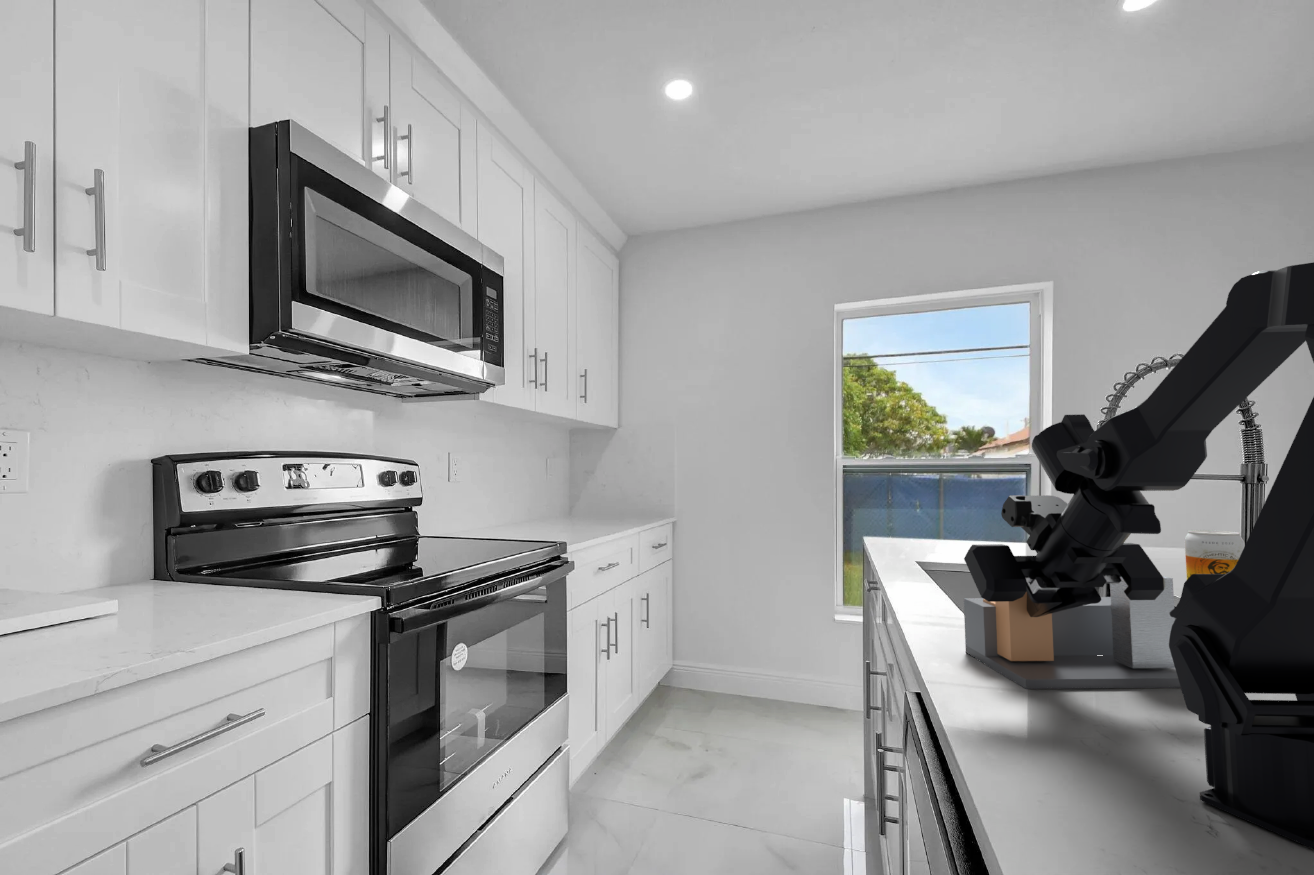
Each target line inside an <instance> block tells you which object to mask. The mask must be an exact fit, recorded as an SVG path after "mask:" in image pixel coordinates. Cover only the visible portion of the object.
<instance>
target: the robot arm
mask: <svg viewBox="0 0 1314 875" xmlns="http://www.w3.org/2000/svg"><path fill="white" fill-rule="evenodd" d="M1305 342H1306V345H1307V348H1308V351H1309V354H1310V357H1311V360H1312V362H1313V363H1314V261H1313V262H1308V263H1301V264H1293V265H1289V266H1284V267H1282V268H1280V269H1277V270H1259V271H1257V272H1254V273H1252V274H1248V275H1246V276H1243V277H1241V278H1240V279H1239V280H1238V281H1236V282H1235V283H1234V284H1233V285H1232V287H1231V289H1230V291H1229V292H1228V294H1227V298H1226V302H1225V307H1224V308H1223V309H1222V310H1221V312H1220V313H1219V314H1218V315H1217V317H1216V318H1215V319H1213V321H1212V322H1211V324H1209V326H1208V327H1207V328H1206V329H1205V330H1204V331H1203V333H1202V334H1201V335H1200V336H1199V337H1198V338H1197V340H1196V341H1195V342H1194V343H1193V344H1192V346H1191V347H1190V348H1189V349H1188V350H1187V352H1186V353H1185V354H1184V355H1183V356H1182V357H1181V359H1179V361H1178V362H1177V363H1176V364H1175V365H1174V367H1173V368H1172V369H1171V370H1170V372H1169V373H1168V374H1167V375H1166V376H1165V377H1164V379H1163V380H1162V381H1160V383H1159V384H1158V385H1157V387H1156V388H1155V389H1154V391H1152V393H1151V394H1150V395H1149V396H1148V397H1147V398H1146V399H1144V401H1142V402H1141V403H1140V404H1138V405H1137V406H1134V407H1131V408H1130V409H1127V410H1126V411H1123V412H1120V413H1118V414H1116V415H1113V416H1111V417H1110V418H1109V419H1107V420H1106V421H1105V422H1104V423H1103V424H1102V425H1100V426H1099V427H1098V428H1097V429H1096V430H1094V428H1093V426H1092V424H1091V422H1090V420H1089V419H1088V417H1087V416H1086V415H1085V414H1082V413H1081V414H1064V415H1063V418H1062V419H1061V421H1060V422H1057V423H1053V424H1052V425H1049V426H1047V427H1045V428H1044V429H1043V430H1042V431H1040V432H1039V433H1038V434H1036V435H1035V436H1034V438H1033V439H1032V441H1031V448H1032V452H1033V453H1034V455H1035V456H1036V458H1037V460H1038V462H1039V463H1040V465H1041V467H1042V468H1043V470H1044V472H1045V474H1046V476H1047V477H1048V479H1049V481H1050V482H1051V484H1052V486H1053V488H1054V489H1055V491H1056V492H1060V493H1063V494H1069V495H1073V496H1072V497H1071V498H1070V500H1069V501H1068V503H1067V501H1065V500H1064V499H1063V498H1060V497H1058V496H1055V495H1050V494H1049V495H1021V494H1020V495H1019V494H1018V495H1017V494H1016V495H1008V497H1007V498H1006V500H1005V501H1004V503H1003V504H1002V509H1001V512H1000V514H1001V517H1002V519H1003V520H1004V521H1005V522H1006V523H1007V524H1008V526H1010V527H1011V528H1021V529H1022V530H1023V531H1024V532H1025V533H1026V534H1027V535H1029V537H1028V538H1027V539H1026V542H1025V543H1027V546H1028V547H1029V549H1030V551H1035V553H1036V555H1014V554H1013V552H1012V549H1011V547H1010V545H1008V544H1003V543H999V544H998V543H997V544H994V543H993V544H989V543H988V544H987V543H986V544H971V546H970V547H969V549H968V550H967V552H966V554H965V556H964V558H963V560H964V562H965V565H966V566H967V569H968V570H969V573H970V576H971V577H972V579H973V582H974V584H975V586H976V588H977V591H978V593H979V595H980V598H983V599H985V600H987V601H988V602H1003V601H1015V600H1017V599H1020V598H1022V597H1023V596H1024V595H1025V593H1026V592H1027V611H1028V613H1029V615H1030V617H1040V616H1044V615H1047V614H1051V613H1055V612H1059V611H1063V610H1066V609H1070V608H1075V607H1079V606H1083V605H1088V604H1096V603H1099V602H1100V601H1101V597H1102V596H1100V593H1099V592H1098V591H1097V589H1096V588H1103V587H1104V586H1105V584H1109V585H1110V583H1120V582H1121V581H1122V580H1121V578H1120V577H1122V578H1123V580H1124V581H1125V583H1126V584H1127V586H1128V587H1127V588H1126V589H1125V590H1124V593H1125V594H1126V596H1127V597H1128V598H1129V599H1130V600H1155V599H1156V598H1157V597H1158V596H1159V595H1160V594H1161V593H1162V592H1163V590H1164V588H1165V581H1164V578H1163V576H1164V575H1162V574H1161V572H1160V570H1158V567H1156V565H1155V564H1154V562H1153V561H1152V559H1151V558H1150V557H1149V555H1148V554H1147V552H1146V551H1145V550H1144V548H1143V547H1142V546H1141V545H1140V544H1139V543H1132V542H1126V541H1127V539H1128V538H1129V537H1130V535H1131V534H1134V535H1135V534H1136V535H1137V534H1140V535H1141V534H1143V535H1146V534H1147V535H1159V534H1161V532H1162V527H1161V526H1162V525H1161V521H1160V519H1159V518H1158V516H1157V515H1156V511H1155V508H1156V507H1155V505H1154V504H1152V503H1149V501H1148V500H1147V499H1146V497H1145V496H1144V495H1143V493H1142V492H1145V491H1146V492H1147V491H1148V492H1151V491H1152V492H1153V491H1154V492H1155V491H1158V492H1159V491H1160V492H1161V491H1166V492H1168V491H1169V492H1170V491H1177V490H1178V491H1179V490H1180V489H1182V488H1184V487H1185V486H1186V485H1187V484H1188V483H1189V482H1190V481H1191V479H1192V478H1193V477H1194V475H1195V474H1196V473H1197V471H1198V470H1199V469H1200V467H1201V466H1202V464H1203V463H1204V462H1205V461H1206V459H1207V457H1208V450H1207V439H1208V437H1209V436H1210V434H1211V433H1212V431H1213V430H1214V429H1216V428H1217V427H1218V426H1219V425H1220V424H1221V423H1222V421H1224V420H1225V419H1226V418H1227V417H1228V416H1229V415H1230V414H1231V413H1232V412H1233V411H1235V409H1237V407H1238V406H1240V404H1241V403H1243V402H1244V401H1245V400H1246V399H1247V398H1248V397H1249V396H1250V395H1251V394H1252V393H1253V392H1254V391H1255V390H1256V389H1257V388H1258V387H1259V386H1260V385H1262V383H1263V382H1264V381H1265V380H1266V379H1268V377H1270V376H1271V375H1272V374H1273V373H1274V372H1275V371H1276V370H1277V369H1278V368H1279V367H1280V366H1281V365H1282V364H1283V363H1285V362H1286V360H1287V359H1289V357H1291V355H1293V354H1294V353H1295V352H1296V351H1297V350H1298V349H1299V348H1300V347H1301V346H1302V345H1304V344H1305ZM1246 540H1247V541H1246V543H1245V547H1244V549H1243V551H1242V553H1241V555H1240V558H1239V560H1238V562H1237V564H1236V566H1235V567H1234V568H1233V569H1232V570H1231V571H1230V572H1228V573H1227V574H1192V575H1191V576H1190V577H1189V578H1188V579H1187V578H1186V580H1185V582H1184V584H1183V586H1182V591H1181V595H1180V599H1179V601H1178V603H1177V605H1176V606H1175V607H1174V609H1173V610H1172V611H1171V612H1170V616H1171V617H1174V618H1175V621H1174V623H1173V625H1172V628H1171V632H1170V639H1169V648H1170V652H1171V656H1172V659H1173V662H1174V666H1175V669H1176V673H1177V676H1178V679H1179V683H1180V686H1181V688H1180V689H1181V693H1182V696H1183V700H1184V703H1185V705H1186V709H1187V710H1188V711H1189V712H1190V713H1193V714H1194V715H1195V714H1196V715H1197V716H1198V721H1199V722H1200V723H1203V724H1205V725H1209V726H1208V727H1205V728H1204V729H1203V737H1204V753H1205V754H1204V755H1205V757H1204V758H1205V771H1206V782H1207V784H1208V786H1209V787H1211V789H1205V790H1202V791H1200V792H1199V800H1200V801H1201V802H1203V803H1205V804H1207V805H1209V806H1213V807H1215V808H1217V809H1219V810H1221V811H1223V812H1226V813H1228V814H1231V815H1233V816H1235V817H1238V818H1240V819H1243V820H1245V821H1247V822H1250V823H1252V824H1254V825H1257V826H1259V827H1261V828H1264V829H1266V830H1268V831H1270V832H1273V833H1275V834H1277V835H1279V836H1282V837H1284V838H1287V839H1289V840H1292V841H1293V842H1296V843H1299V844H1301V845H1303V846H1306V847H1308V848H1311V849H1314V396H1313V397H1312V399H1311V402H1310V403H1309V406H1308V408H1307V410H1306V413H1305V415H1304V417H1303V419H1302V421H1301V424H1300V425H1299V428H1298V430H1297V432H1296V434H1295V436H1294V439H1293V440H1292V443H1291V446H1290V447H1289V450H1288V452H1287V454H1286V456H1285V459H1284V460H1283V462H1282V464H1281V467H1280V469H1279V471H1278V474H1277V475H1276V478H1275V480H1274V482H1273V484H1272V487H1271V488H1270V490H1269V493H1268V495H1267V497H1266V499H1265V501H1264V504H1263V505H1262V508H1261V510H1260V512H1259V515H1258V517H1257V518H1256V521H1255V523H1254V525H1253V527H1252V530H1251V532H1250V534H1249V536H1248V538H1247V539H1246ZM1246 694H1263V695H1266V694H1267V695H1270V694H1273V695H1274V694H1275V695H1276V694H1277V695H1286V694H1287V695H1294V696H1295V699H1296V700H1293V699H1292V700H1288V699H1287V700H1284V699H1283V700H1282V699H1249V698H1248V696H1247V695H1246Z"/></svg>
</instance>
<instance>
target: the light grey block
mask: <svg viewBox="0 0 1314 875" xmlns="http://www.w3.org/2000/svg"><path fill="white" fill-rule="evenodd" d="M1162 576H1163V578H1164V581H1165V588H1164V590H1163V592H1162V593H1161V594H1160V595H1159V596H1158V597H1157V598H1156V599H1155V600H1130V599H1129V598H1128V597H1127V596H1126V594H1125V593H1124V590H1125V589H1126V588H1127V587H1128V586H1127V584H1126V583H1125V581H1124V580H1123V578H1122V577H1120V578H1121V580H1122V581H1121V582H1120V583H1109V589H1110V592H1109V593H1110V597H1111V615H1112V635H1113V656H1114V661H1117V662H1119V663H1121V664H1124V665H1126V666H1129V667H1131V668H1175V666H1174V662H1173V659H1172V656H1171V652H1170V648H1169V639H1170V632H1171V628H1172V625H1173V623H1174V621H1175V619H1176V618H1174V617H1171V616H1170V612H1171V611H1172V610H1173V609H1174V608H1175V597H1174V596H1175V595H1174V580H1173V579H1174V578H1172V577H1168V576H1164V575H1162Z"/></svg>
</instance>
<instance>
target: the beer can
mask: <svg viewBox="0 0 1314 875" xmlns="http://www.w3.org/2000/svg"><path fill="white" fill-rule="evenodd" d="M1245 545H1246V543H1245V540H1244V539H1243V538H1242V536H1241V533H1240V532H1237V531H1229V530H1215V529H1214V530H1213V529H1212V530H1210V529H1194V530H1193V529H1191V530H1187V534H1186V535H1185V538H1184V552H1185V553H1184V554H1185V570H1186V571H1185V572H1186V580H1187V579H1188V578H1189V577H1190V576H1191V575H1192V574H1227V573H1228V572H1230V571H1231V570H1232V569H1233V568H1234V567H1235V566H1236V564H1237V562H1238V560H1239V558H1240V555H1241V553H1242V551H1243V549H1244V547H1245Z"/></svg>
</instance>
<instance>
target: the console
mask: <svg viewBox="0 0 1314 875" xmlns="http://www.w3.org/2000/svg"><path fill="white" fill-rule="evenodd" d="M1100 597H1101V601H1100V602H1099V603H1096V604H1088V605H1083V606H1079V607H1075V608H1070V609H1066V610H1063V611H1059V612H1055V613H1052V630H1053V653H1054V661H1010V660H1008V659H1006V658H1004V657H1003V656H1001V655H999V654H997V629H996V604H995V602H988V601H987V600H985V599H983V598H982V597H977V598H976V597H974V598H973V597H970V598H969V597H968V598H967V597H966V598H963V613H964V615H963V616H964V640H965V643H964V644H965V653H966V652H967V653H968V654H967V653H966V654H967V655H969V654H970V655H971V657H972V656H973V658H974V657H975V658H976V660H977V659H978V660H977V661H979V660H980V661H982V662H983V663H982V662H981V663H982V664H984V663H985V664H986V665H985V664H984V665H985V666H987V667H989V668H990V669H992V670H994V671H996V672H997V673H998V674H1000V675H1002V676H1004V677H1006V678H1008V680H1011V681H1012V682H1014V683H1016V684H1017V685H1018V686H1020V687H1022V688H1023V689H1026V690H1034V689H1035V690H1041V689H1042V690H1043V689H1045V690H1048V689H1050V690H1053V689H1059V690H1060V689H1061V690H1063V689H1065V690H1066V689H1152V688H1153V689H1158V688H1162V689H1165V688H1167V689H1168V688H1169V689H1170V688H1172V689H1174V688H1175V689H1176V688H1177V689H1178V688H1179V689H1181V686H1180V683H1179V679H1178V676H1177V673H1176V669H1175V668H1131V667H1129V666H1126V665H1124V664H1121V663H1119V662H1117V661H1114V656H1113V635H1112V615H1111V596H1100ZM970 655H969V656H970ZM1097 655H1103V656H1097ZM975 658H974V659H975ZM980 661H979V662H980Z"/></svg>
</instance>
